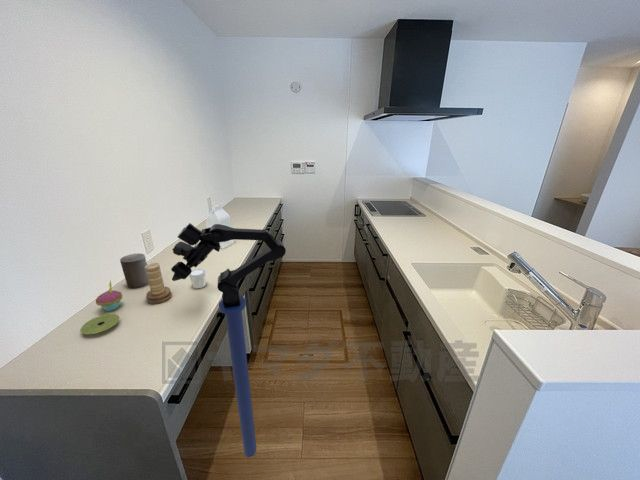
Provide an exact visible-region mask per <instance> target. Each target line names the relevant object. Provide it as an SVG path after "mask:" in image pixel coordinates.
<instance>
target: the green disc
mask: <svg viewBox="0 0 640 480" xmlns="http://www.w3.org/2000/svg"><path fill="white" fill-rule="evenodd" d="M119 321H120V316H119V315H118V314H116V313H107V314H103V315H99V316H96V317H93V318H91V319H89V320H88V321H86V322H85V323H84V324H82V326H81V327H80V332H81V334H84V335H94V334H95V335H96V334H98V333H102V332H105V331H107V330H109V329H111V328H112V327H115V325H116V324H117V323H119Z"/></svg>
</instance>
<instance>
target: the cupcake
mask: <svg viewBox="0 0 640 480" xmlns="http://www.w3.org/2000/svg"><path fill="white" fill-rule="evenodd" d="M108 287H109V290H106V291H104V292H103V293H101V294H99V295H98V296H97V298H96V299H95V304H96V305H97V306H100V307H102V308H103V309H104V311H106V312H111V311H115V310H116V309H118V308H119V307H120V303H121V300H122V299H123V294H122V292H121V291H118V290H113V288H112V282H111V280H109V282H108Z"/></svg>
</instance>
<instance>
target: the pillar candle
mask: <svg viewBox="0 0 640 480" xmlns="http://www.w3.org/2000/svg"><path fill="white" fill-rule="evenodd" d="M119 261H120V265H121V269H122V273H123V275H124V279H125V282H126V286H127V288H129V289H137V288H139V289H140V288H142V287H145V286H147V285H149V282H148V278H147V274H146V270H145V266H146V265H148V263H147V259H146V254H144V253H140V252H139V253H137V252H136V253H131V254H127V255H124V256H122V257H120V259H119Z"/></svg>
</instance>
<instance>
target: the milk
mask: <svg viewBox="0 0 640 480" xmlns="http://www.w3.org/2000/svg"><path fill="white" fill-rule="evenodd" d="M215 224H220V225H225V226H228V227H231V228H233V225H232V224H233V223H232V219H231V216H230V214H229V213H228V212H227V211H226V210H225V209H223V207H222V205H221V204H217V205H214V206H212V209H211V212H210V213H209V214H208V215H207V216H206V218H205V226H206V228H210V227H212V226H213V225H215ZM235 241H236V240H229V241H226V242H219V243H220V246H221V247H220V249H222V250H223V249H226V248H227V247H229V246H230V245H232V244H234V243H235Z"/></svg>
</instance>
